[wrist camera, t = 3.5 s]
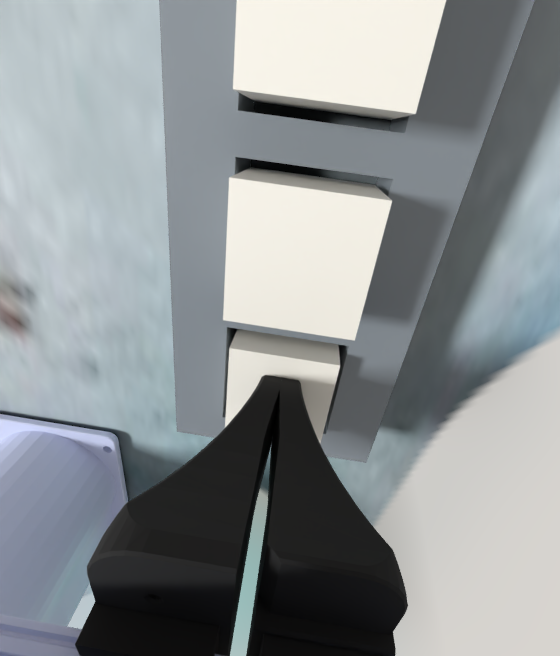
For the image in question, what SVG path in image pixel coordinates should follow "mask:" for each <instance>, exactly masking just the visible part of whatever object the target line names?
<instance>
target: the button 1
mask: <svg viewBox="0 0 560 656" xmlns="http://www.w3.org/2000/svg"><path fill="white" fill-rule="evenodd" d="M339 369H340V357H339V346H338V344H333V343H326V342H320V341H313V340H307V339H301V338H294V337H288V336H281V335H275V334H268V333H262V332H256V331H249V330H243V329H237V331H236V334H235V336H234V338H233V341H232V343H231V346H230V348H229V364H228V382H227V400H226V418H225V427H226V426H227V425H228V424H229V423H230V422H231V420H232V419H233V418H234V417H235V416H236V415H237V413H238V412H239V411H240V410H241V408H242V407H243V406H244V404H245V403H246V402H247V400H248V399H249V398H250V396H251V395H252V393H253V392H254V390H255V389H256V387H257V385H258V383H259V382H260V380H261V377H262V376H264V375H269V376H275V377H282V378H288V379H294V380H299V382H300V383H301V389H302V394H303V398H304V402H305V406H306V409H307V412H308V415H309V418H310V420H311V423H312V426H313V428H314V431H315V433H316V436H317V438H318V440H319V442H320V443H321V439H322V435H323V431H324V427H325V424H326V420H327V416H328V412H329V408H330V404H331V400H332V396H333V392H334V388H335V384H336V380H337V377H338V373H339Z"/></svg>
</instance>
